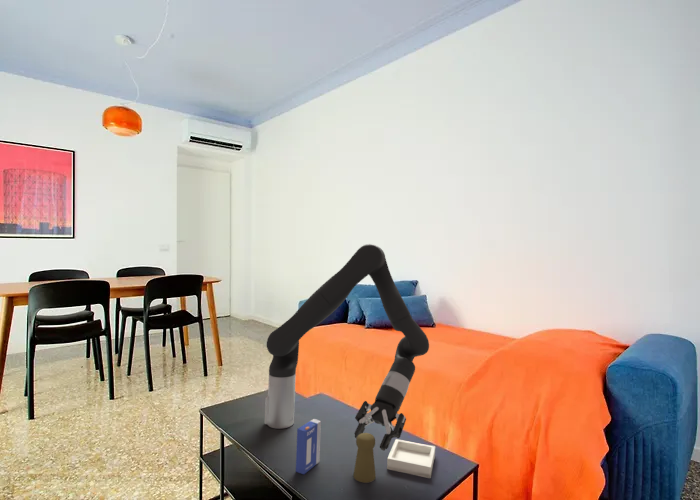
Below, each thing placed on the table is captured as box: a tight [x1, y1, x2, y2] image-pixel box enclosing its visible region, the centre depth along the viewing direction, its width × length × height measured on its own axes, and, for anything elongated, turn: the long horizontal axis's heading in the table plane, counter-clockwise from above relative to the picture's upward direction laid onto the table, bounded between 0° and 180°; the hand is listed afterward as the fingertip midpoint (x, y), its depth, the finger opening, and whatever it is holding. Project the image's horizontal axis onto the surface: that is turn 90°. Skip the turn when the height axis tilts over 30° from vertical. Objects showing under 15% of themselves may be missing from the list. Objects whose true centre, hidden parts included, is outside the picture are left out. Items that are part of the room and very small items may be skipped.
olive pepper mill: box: [352, 432, 376, 484], centre depth 103 cm, size 6×6×11 cm
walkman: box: [295, 418, 322, 475], centre depth 106 cm, size 8×3×12 cm, turn 150°
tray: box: [386, 438, 436, 479], centre depth 110 cm, size 12×12×3 cm
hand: (369, 443), depth 104 cm, fingers open, 8 cm apart
